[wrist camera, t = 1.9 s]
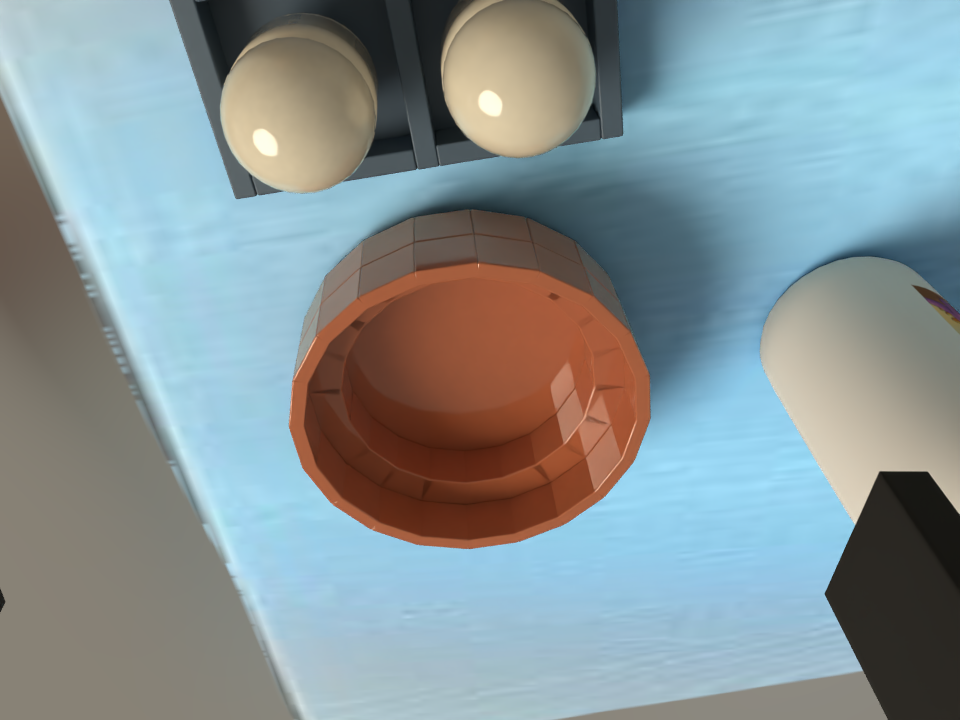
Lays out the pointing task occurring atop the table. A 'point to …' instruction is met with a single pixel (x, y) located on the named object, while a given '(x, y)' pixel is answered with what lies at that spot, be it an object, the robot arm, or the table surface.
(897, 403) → the milk bottle
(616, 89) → the egg tray
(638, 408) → the bowl
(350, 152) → the cream egg
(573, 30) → the cream egg
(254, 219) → the table surface
